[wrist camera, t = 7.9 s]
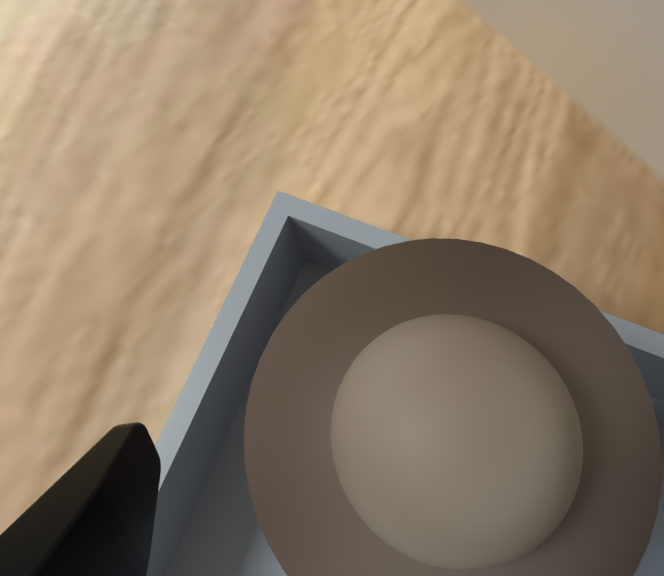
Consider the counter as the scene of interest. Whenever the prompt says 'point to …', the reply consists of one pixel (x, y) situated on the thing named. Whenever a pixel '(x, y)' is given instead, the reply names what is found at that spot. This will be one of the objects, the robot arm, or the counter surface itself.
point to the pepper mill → (451, 423)
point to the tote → (234, 387)
